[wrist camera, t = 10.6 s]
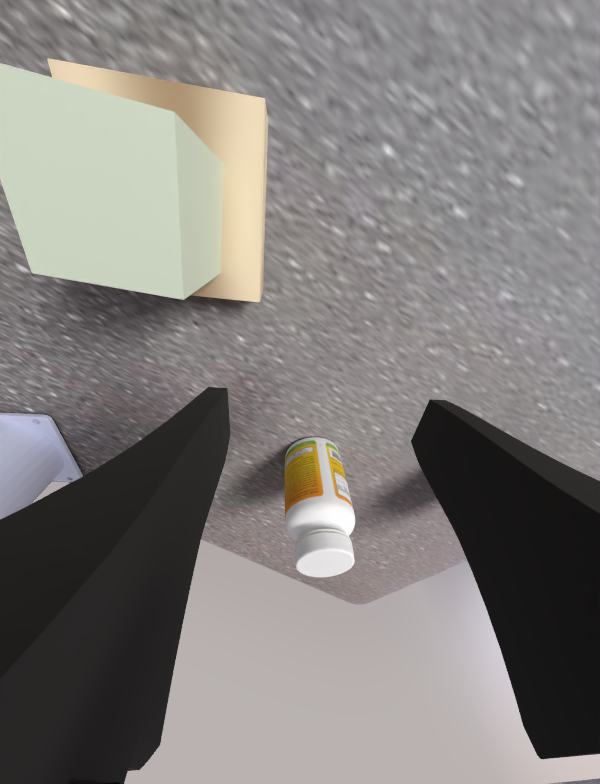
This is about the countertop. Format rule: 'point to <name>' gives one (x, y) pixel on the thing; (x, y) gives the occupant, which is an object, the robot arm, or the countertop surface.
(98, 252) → the sage block
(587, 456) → the countertop surface
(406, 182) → the countertop surface
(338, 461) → the supplement bottle
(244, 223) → the beech block
